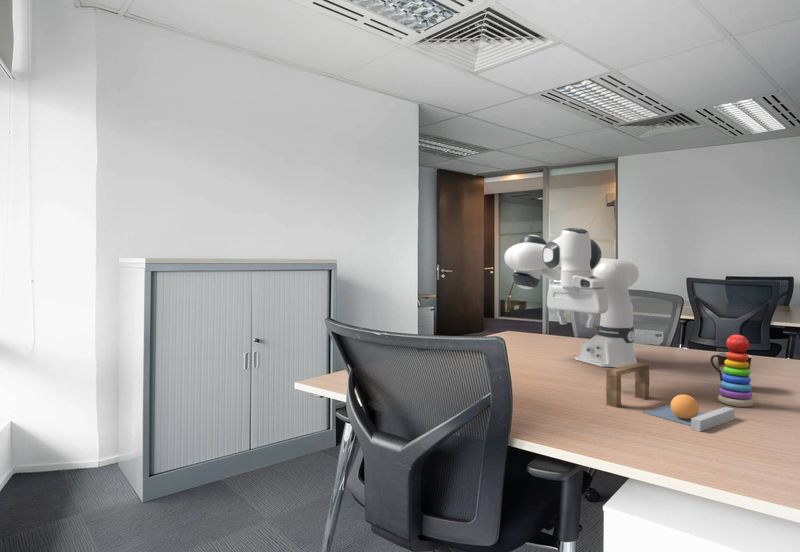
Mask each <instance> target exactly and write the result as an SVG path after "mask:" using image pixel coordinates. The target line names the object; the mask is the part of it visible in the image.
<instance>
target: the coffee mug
mask: <svg viewBox="0 0 800 552" xmlns="http://www.w3.org/2000/svg"><path fill="white" fill-rule="evenodd" d="M726 353H727V352H725V351H724V352H723V351H722V352H717V353H716V355H715V354H713V355H712V356H710V364H711V366H712V367H713V368H714V369H715V370H716V372H718V373H719V380H720V382H721V381H722V380H723V379H722V375H723V374H724V373H725V372H724V371H723V369H724V367H725V366H726V365H725V364H724V361H725V360H726V359H728V358H727V357H726ZM747 355H748V356H749V358H748V360H747V362H748V363H749V367H748V369H749V370H750V368H751V362H752V355H749V354H747ZM714 358H717V364H718V365H717V366H718V368H717V367H716V365H715V363H714ZM750 371H751V370H750Z"/></svg>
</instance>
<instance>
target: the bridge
mask: <svg viewBox="0 0 800 552" xmlns="http://www.w3.org/2000/svg"><path fill="white" fill-rule="evenodd" d="M605 373H606V383H605V384H606V390H605V391H606V394H605V395H606V397H605V398H606V405H608V406H610V407H614V408H618V407H619V408H620V407H622V375H626V374H630V373H634V397H635V398H638V399H641V400H648V399H650V364H649V363H645V362H637V363H634V364H629V365H624V366H620V367H609V368H606V372H605Z"/></svg>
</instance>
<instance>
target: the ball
mask: <svg viewBox="0 0 800 552" xmlns="http://www.w3.org/2000/svg"><path fill="white" fill-rule="evenodd" d="M670 405H671V410H672V412H673V413H674V414H675V415H676V416H677V417H678V418H681V419H685V420H689V419H691V418H694V417H695V416H696V415H697V414H698V412H700V407H699V403H698V401H697V400H696V399H695V398H694V397H692V396H690V395H689V394H682V393H681V394H678V395H675V397H673V398H672V399H671V401H670Z"/></svg>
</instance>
